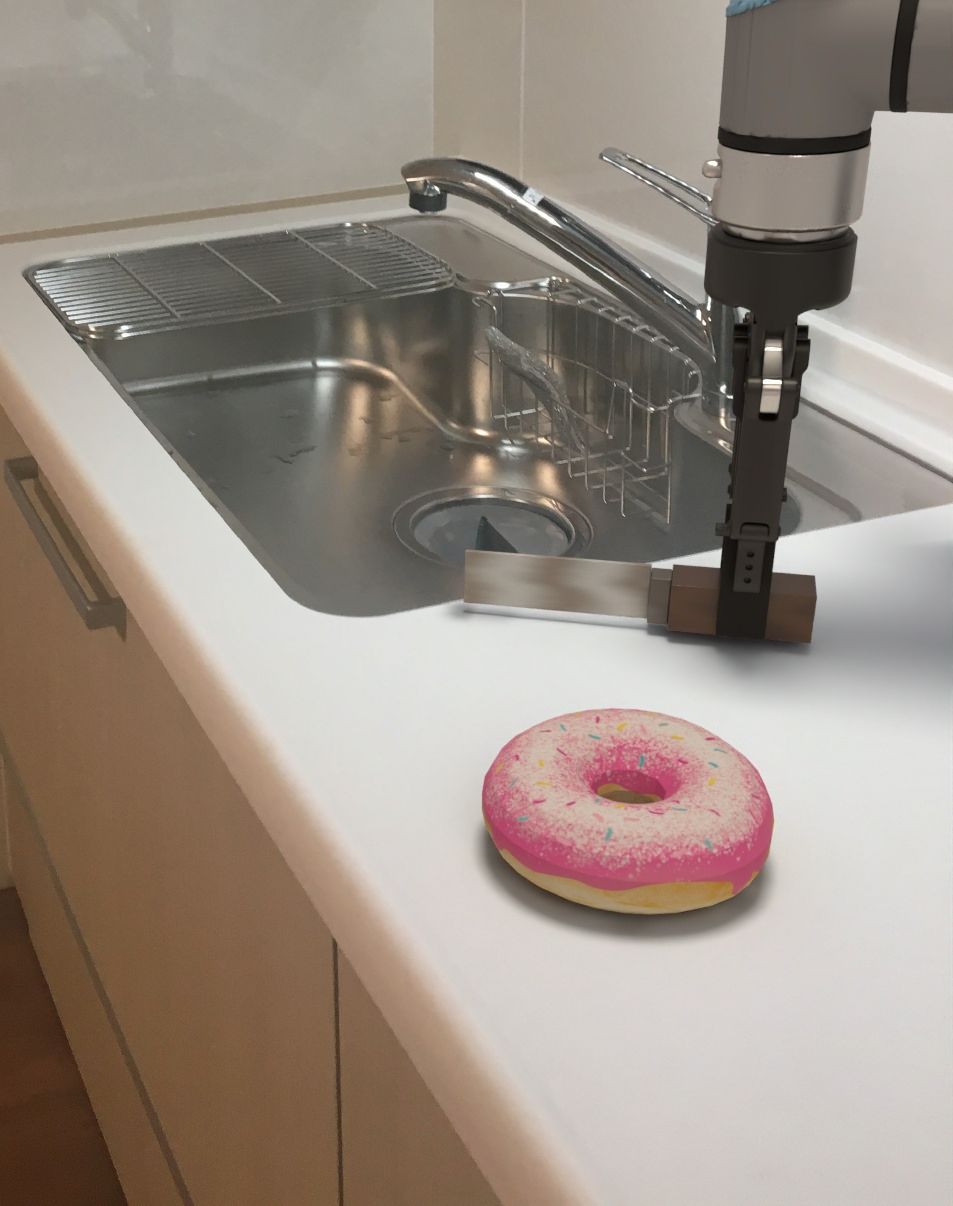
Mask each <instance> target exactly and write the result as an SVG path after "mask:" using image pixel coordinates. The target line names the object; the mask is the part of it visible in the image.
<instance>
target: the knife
mask: <svg viewBox="0 0 953 1206" xmlns="http://www.w3.org/2000/svg"><path fill="white" fill-rule="evenodd" d="M463 572H464V573H463V600H462V601H463V603H465V604H477V605H488V606H498V607H499V606H500V607H511V608H523V609H534V610H542V611H543V610H545V611H557V612H568V613H579V614H590V615H601V616H613V617H624V618H634V619H635V618H636V619H646V623H647V624H651V625H652V624H653V625H662V626H667V627H666V630H667V631H670V632H681V633H690V634H691V633H692V634H704V635H714V636H716V623H717V613H718V604H719V594H720V584H721V574H722V568H720V567H714V566H701V565H687V564H675V563H674V564H672V568H663V567H662V568H661V567H653V564H652V563H645V562H644V563H642V562H630V561H619V560H605V559H593V558H592V559H591V558H581V557H579V558H578V557H567V556H553V555H540V554H528V553H518V552H517V553H516V552H503V551H491V550H479V549H478V550H477V549H465V551H464V571H463ZM817 600H818V592H817V582H816V575H813V574H804V573H803V574H802V573H791V572H777V571H773V572H772V581H771V589H770V598H769V606H768V615H767V623H766V632H765V640H769V641H781V642H790V643H791V642H793V643H802V644H811V643H812V638H813V629H814V622H815V616H816V607H817Z"/></svg>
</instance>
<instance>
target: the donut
mask: <svg viewBox="0 0 953 1206" xmlns="http://www.w3.org/2000/svg"><path fill="white" fill-rule="evenodd" d="M773 808H774V807H773V802H772V799H771V797H770V794H769V791H768V789H767V787H766V784H765V782H764V780H763V778H762V776H761V774H760V772H759V770H758V769H757V768H756V767H755V766H754V764H753V763H752V762H751V761H750V760H749V759H748V758H747V756H746V755H744V754H743V753H741V751H739V750H738V749H736V748H735V747H734V746H732V745H731V744H730V743H729V742H727V741H726V740H724V739H722V738H721V737H719V736H718V735H716V734H715V733H713V732H711V731H710V730H708V729H706V728H705V727H702V726H701V725H698V724H696V723H693V722H690V721H688V720H686V719H683V718H682V717H678V716H673V715H669V714H666V713H662V712H657V711H651V710H643V709H636V708H616V707H615V708H598V709H596V708H595V709H586V710H580V711H574V712H570V713H564V714H562V715H559V716H555V717H553V718H550V719H546V720H544V721H542V722H540V723H538V724H536V725H534V726H531V727H530V728H528V729H525V730H524V731H523V732H520V733H517V734H516V735H515V736H514V737H513V738H511V740H509V741H508V742H507V743H506V744H505V745H504V746H503V747H501V749H500V750H499V752H498V753H497V755H496V756H495V758H494V760H493V762H492V763H491V765H490V767H489V768H488V770H487V772H486V774H485V775H484V779H483V784H482V790H481V813H482V817H483V821H484V825H485V829H486V830H487V832H488V834H489V836H490V838H491V839H492V841H493V844H494V845H495V847H496V848H497V850H498V852H499V854H500V855H501V857H502V859H503V860H505V862H507V864H509V866H510V867H512V869H514V870H515V872H516V873H518V874H519V875H521V876H522V877H524V878H525V879H526V880H528V881H530V882H531V883H532V884H534V885H536V886H537V887H539V888H540V889H541V888H542V889H543V890H545V891H548V892H550V893H552V894H555V895H556V896H559V897H560V898H563V899H565V900H568V901H570V902H572V903H577V904H579V905H584V906H585V907H590V908H593V909H597V910H603V911H609V912H614V913H615V912H616V913H620V914H634V915H667V914H678V913H682V912H688V911H692V910H697V909H702V908H707V907H712V906H714V905H717V904H719V903H722V902H724V901H726V900H729V899H732V898H734V897H735V896H736V895H738V894H739V893H741V892H742V891H743V890H744V889H745V888H747V887H748V886H749V885H750V884H751V883H752V882H753V881H754V879H755V878H756V877H757V876H758V874H759V873H760V872H761V870H762V868H763V866H764V865H765V863H766V861H767V860H768V858H769V856H770V850H771V844H772V838H773V833H774V832H773V831H774V825H775V816H774V809H773Z"/></svg>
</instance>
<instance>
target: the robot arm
mask: <svg viewBox="0 0 953 1206" xmlns="http://www.w3.org/2000/svg"><path fill="white" fill-rule="evenodd" d="M724 16H725V18H726V21H725V37H724V50H723V51H724V52H723V66H722V78H721V93H720V105H719V118H718V119H719V120H718V125H719V126H718V127H717V140H718V144H717V148H716V153H717V156H718V157H719V158H712V159H708V160H705V161H704V162H703V164H702V168H701V175H703V177H705V178H707V179H716V181H715V182H714V184H713V187H712V188H713V189H712V190H713V191H712V200H711V201H712V202H711V214H712V216H713V217H715V219H717V221H719V222H718V223H716V224H715V225H714V226H712V228H711V229H710V230H709V231H708V232H707V233H708V234H707V241H706V242H707V243H706V245H707V246H706V253H705V254H706V255H705V266H704V278H703V289H704V291H705V293H706V295H707V296H708V297H709V298H710V299H711V300H713V301H714V302H717V303H719V304H721V305H723V306H727V307H729V308H733V309H737V308H741V309H745V310H747V311H746V312H745V313H744V317H742V322H733V326H732V335H731V336H732V337H731V366H732V368H733V372H732V379H731V380H732V382H731V385H732V386H731V395H732V399H731V401H732V402H731V410H732V414H733V415H734V417H735V424H734V431H733V432H734V433H733V442H732V443H733V444H732V452H731V453H732V454H731V462H730V463H728V469H727V472H728V473H729V474H728V475H729V476H730V483H729V484H728V485H727V490H726V491H727V492H726V494H728V496H729V498H728V499H729V501H731V503H726V504H725V505H726V507H725V517H724V522H715V530H714V536H715V537H722V545H721V546H722V547H721V555H720V564H719V565H720V566H719V568H722V574H721V584H720V594H719V604H718V613H717V623H716V635H715V636H717V637H727V638H739V639H740V638H741V639H750V640H751V639H752V640H761V641H764V640H766V639H765V632H766V623H767V615H768V606H769V598H770V589H771V581H772V572H774V571H773V570H774V562H775V553H776V546H777V542H778V541H779V537H781V533H782V527H781V526H780V522H781V514H782V513H781V512H782V507H783V506H782V505H783V504H787V501H788V487H785V480H786V474H787V473H786V472H787V464H788V457H789V456H788V455H789V447H790V440H791V432H792V424H793V420H795V419H796V418H797V416H798V414H799V411H800V401H801V394H802V393H801V392H802V382H803V375H804V374H805V372H806V371H807V370H808V368H809V365H810V364H809V363H810V355H811V343H812V341H811V340H812V339H811V338H809V333H810V331H809V330H810V326H809V324H798V321H799V316H800V315H801V314H804V313H807V312H809V311H813V310H814V311H823V310H824V311H825V310H828V309H830V308H834V307H836V306H838V305H840V304H841V303H843V302H844V301H846V300H847V299H848V298H849V296H850V295H851V291H852V288H853V287H852V285H853V278H854V271H855V264H856V263H855V262H856V256H857V247H858V240H859V239H858V238H859V236H858V235H857V234H856V233H855V231H854V229H853V228H852V227H851V225H854V224H855V223H856V222H858V221H859V220H860V219H861V218H862V216H863V210H864V203H865V196H866V195H865V194H866V187H867V179H868V171H869V163H870V156H871V148H872V140H871V137H872V124H873V119H874V116H875V112H891V113H900V114H902V113H903V114H907V113H908V112H910V113H928V114H929V113H931V114H932V113H933V114H953V0H729V4H728V5H727V6H726V7H725V15H724Z"/></svg>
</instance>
